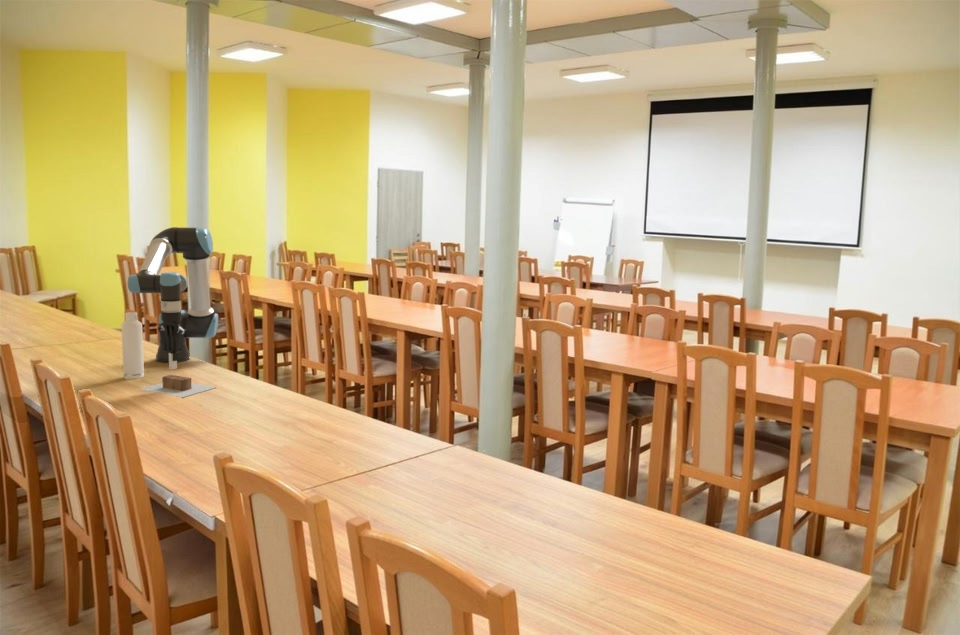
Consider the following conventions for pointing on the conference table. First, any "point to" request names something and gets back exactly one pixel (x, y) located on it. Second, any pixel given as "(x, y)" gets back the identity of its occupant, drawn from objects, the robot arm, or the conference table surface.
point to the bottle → (132, 347)
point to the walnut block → (177, 382)
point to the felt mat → (195, 390)
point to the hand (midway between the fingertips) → (173, 368)
